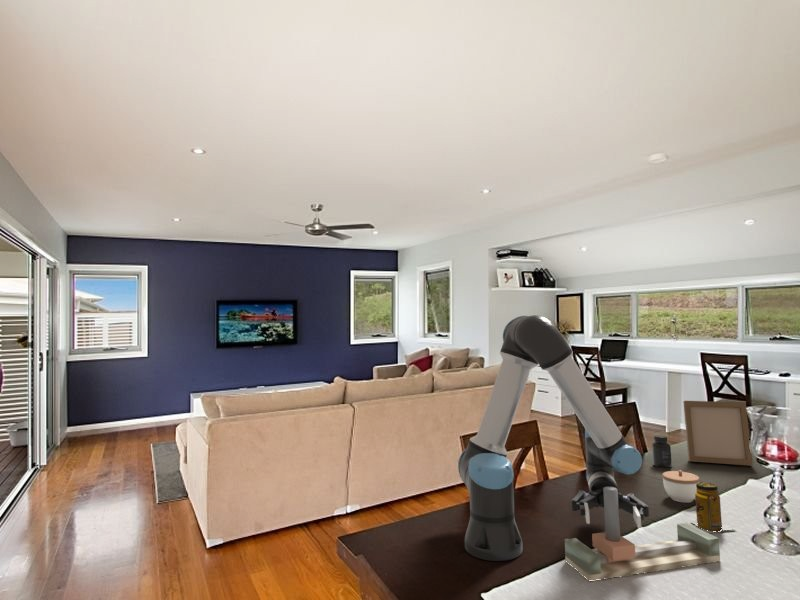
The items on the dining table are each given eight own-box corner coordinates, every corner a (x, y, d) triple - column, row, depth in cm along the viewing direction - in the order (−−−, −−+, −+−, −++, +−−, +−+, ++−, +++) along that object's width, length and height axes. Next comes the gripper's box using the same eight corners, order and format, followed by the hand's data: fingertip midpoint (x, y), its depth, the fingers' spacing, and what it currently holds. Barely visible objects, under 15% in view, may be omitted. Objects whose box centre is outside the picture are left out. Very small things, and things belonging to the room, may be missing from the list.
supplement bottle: (672, 464, 201) (670, 435, 202) (671, 469, 195) (669, 438, 196) (653, 462, 205) (652, 433, 205) (652, 467, 199) (650, 437, 200)
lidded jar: (691, 507, 155) (690, 477, 155) (657, 498, 163) (655, 470, 164) (706, 500, 161) (704, 471, 161) (672, 491, 170) (671, 464, 170)
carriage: (613, 566, 114) (610, 495, 115) (592, 551, 122) (589, 485, 123) (635, 562, 116) (632, 492, 117) (614, 548, 124) (610, 482, 125)
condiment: (690, 523, 143) (687, 481, 144) (717, 521, 144) (714, 479, 144) (708, 533, 136) (705, 489, 136) (736, 531, 136) (733, 487, 137)
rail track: (589, 582, 112) (588, 557, 112) (565, 562, 122) (564, 539, 122) (720, 561, 120) (718, 538, 120) (687, 544, 130) (686, 522, 130)
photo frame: (753, 468, 194) (749, 404, 195) (690, 463, 202) (686, 402, 204) (744, 458, 207) (740, 399, 209) (685, 454, 216) (681, 397, 217)
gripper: (650, 506, 133) (668, 541, 112) (561, 500, 140) (562, 531, 119) (648, 478, 134) (666, 507, 113) (559, 473, 140) (561, 499, 119)
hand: (613, 519), depth 116 cm, fingers open, 10 cm apart
